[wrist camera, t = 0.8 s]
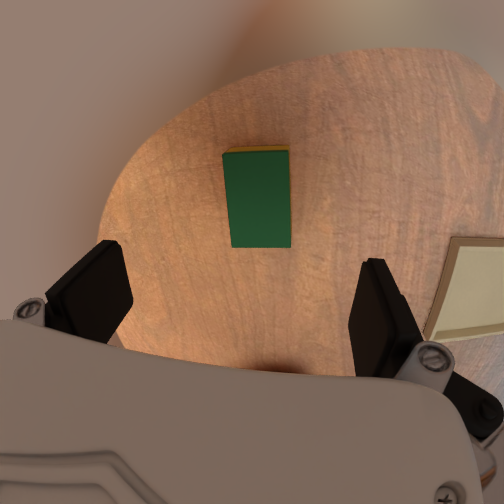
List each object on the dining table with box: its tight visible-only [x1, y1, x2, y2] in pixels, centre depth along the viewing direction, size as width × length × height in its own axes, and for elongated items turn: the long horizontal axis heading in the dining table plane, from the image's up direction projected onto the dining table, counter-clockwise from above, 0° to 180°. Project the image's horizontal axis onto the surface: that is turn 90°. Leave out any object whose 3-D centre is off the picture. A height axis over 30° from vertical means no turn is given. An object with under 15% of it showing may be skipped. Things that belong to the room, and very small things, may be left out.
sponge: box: [222, 145, 292, 248], centre depth 25 cm, size 8×5×4 cm, turn 4°
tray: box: [423, 237, 504, 343], centre depth 26 cm, size 13×17×2 cm
